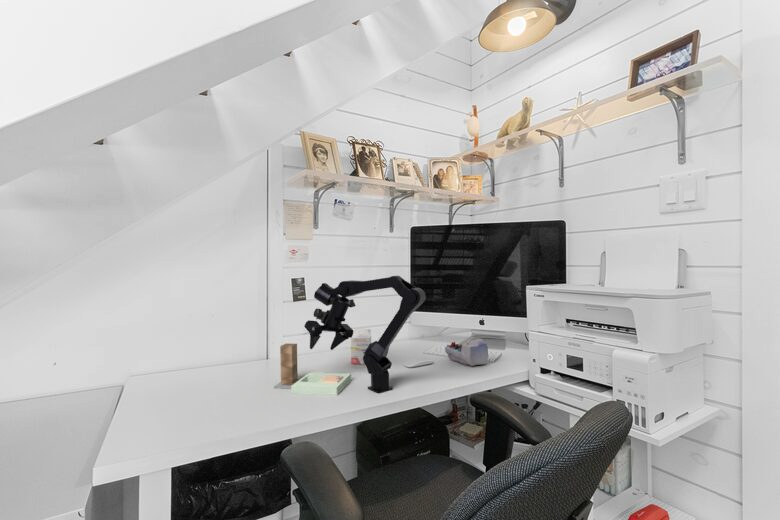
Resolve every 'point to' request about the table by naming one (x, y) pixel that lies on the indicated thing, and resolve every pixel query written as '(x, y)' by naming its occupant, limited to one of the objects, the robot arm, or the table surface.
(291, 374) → the walnut block
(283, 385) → the grey mat
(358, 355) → the ink cartridge box
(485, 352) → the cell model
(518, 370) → the table surface
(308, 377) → the puzzle board
